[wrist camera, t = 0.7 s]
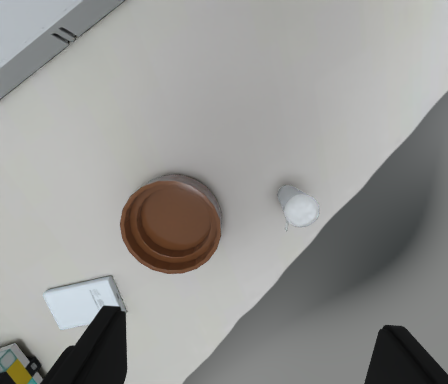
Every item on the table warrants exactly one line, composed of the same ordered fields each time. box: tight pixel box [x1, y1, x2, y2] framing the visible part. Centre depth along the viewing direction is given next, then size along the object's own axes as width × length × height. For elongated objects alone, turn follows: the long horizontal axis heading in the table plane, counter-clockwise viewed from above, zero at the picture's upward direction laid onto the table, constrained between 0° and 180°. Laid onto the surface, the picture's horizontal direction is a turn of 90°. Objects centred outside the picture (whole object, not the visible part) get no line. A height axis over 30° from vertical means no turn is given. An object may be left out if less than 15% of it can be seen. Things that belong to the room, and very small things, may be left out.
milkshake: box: [277, 185, 319, 231], centre depth 35 cm, size 4×5×10 cm
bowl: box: [120, 175, 222, 274], centre depth 39 cm, size 15×15×5 cm
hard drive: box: [43, 276, 126, 330], centre depth 45 cm, size 2×8×12 cm
